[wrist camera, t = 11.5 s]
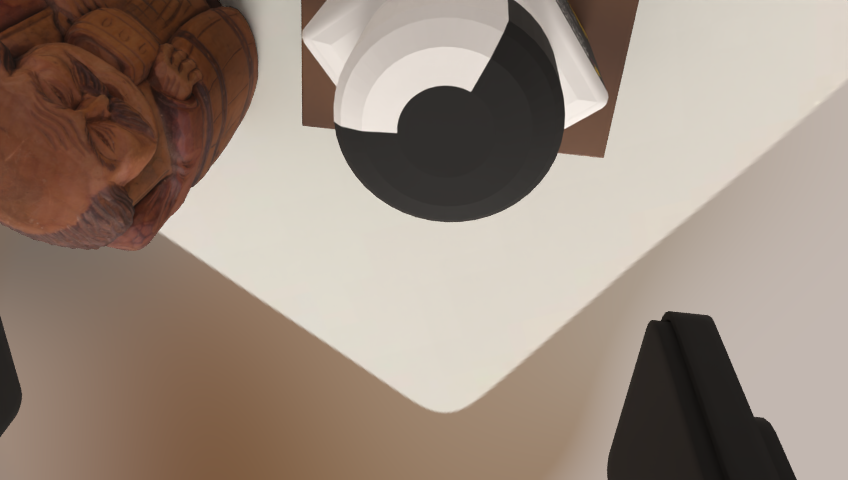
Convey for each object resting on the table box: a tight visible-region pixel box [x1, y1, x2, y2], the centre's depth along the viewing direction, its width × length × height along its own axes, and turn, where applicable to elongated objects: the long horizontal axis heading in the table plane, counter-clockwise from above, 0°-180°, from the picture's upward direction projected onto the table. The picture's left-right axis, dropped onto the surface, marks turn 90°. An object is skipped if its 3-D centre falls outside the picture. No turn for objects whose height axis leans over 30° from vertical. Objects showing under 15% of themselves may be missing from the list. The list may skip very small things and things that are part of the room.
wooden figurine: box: [0, 0, 258, 251], centre depth 33 cm, size 12×6×18 cm, turn 42°
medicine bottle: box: [302, 0, 609, 222], centre depth 24 cm, size 7×7×12 cm
